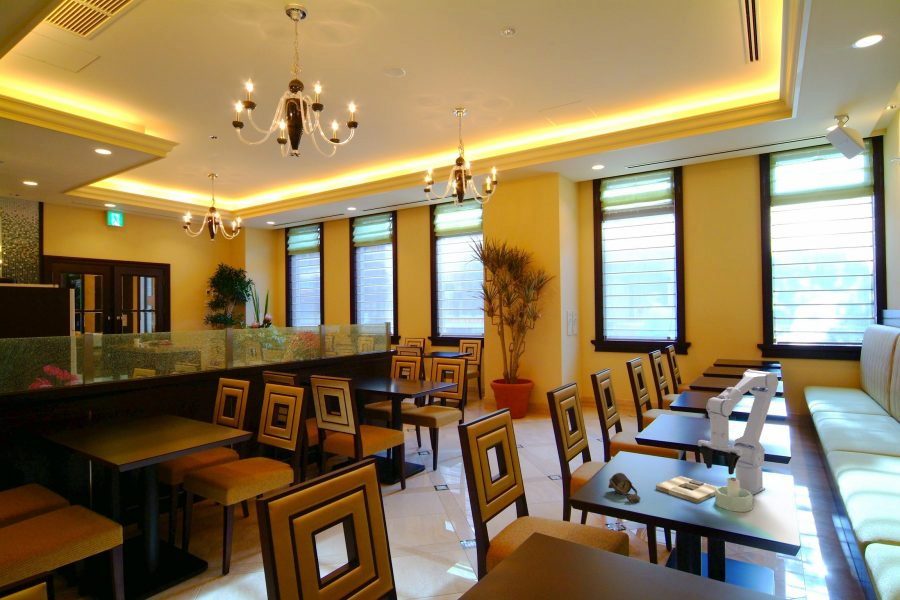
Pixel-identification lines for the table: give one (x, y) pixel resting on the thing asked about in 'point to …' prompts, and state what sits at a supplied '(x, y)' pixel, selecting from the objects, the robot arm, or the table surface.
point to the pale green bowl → (734, 500)
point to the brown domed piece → (623, 486)
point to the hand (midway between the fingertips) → (720, 470)
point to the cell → (733, 487)
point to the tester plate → (677, 489)
